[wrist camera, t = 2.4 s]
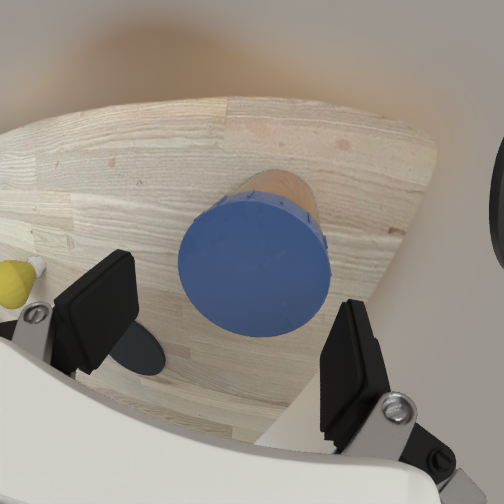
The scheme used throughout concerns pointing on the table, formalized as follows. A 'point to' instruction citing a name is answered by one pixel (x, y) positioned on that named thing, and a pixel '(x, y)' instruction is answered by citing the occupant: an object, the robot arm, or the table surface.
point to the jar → (283, 189)
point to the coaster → (139, 351)
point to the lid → (255, 264)
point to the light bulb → (18, 280)
